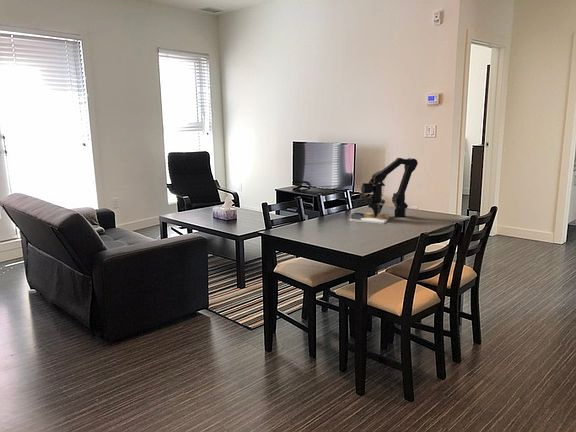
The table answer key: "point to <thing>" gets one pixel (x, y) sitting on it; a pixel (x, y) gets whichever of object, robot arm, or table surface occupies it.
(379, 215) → the oak rail
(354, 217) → the bracket plate
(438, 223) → the table surface
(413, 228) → the table surface
